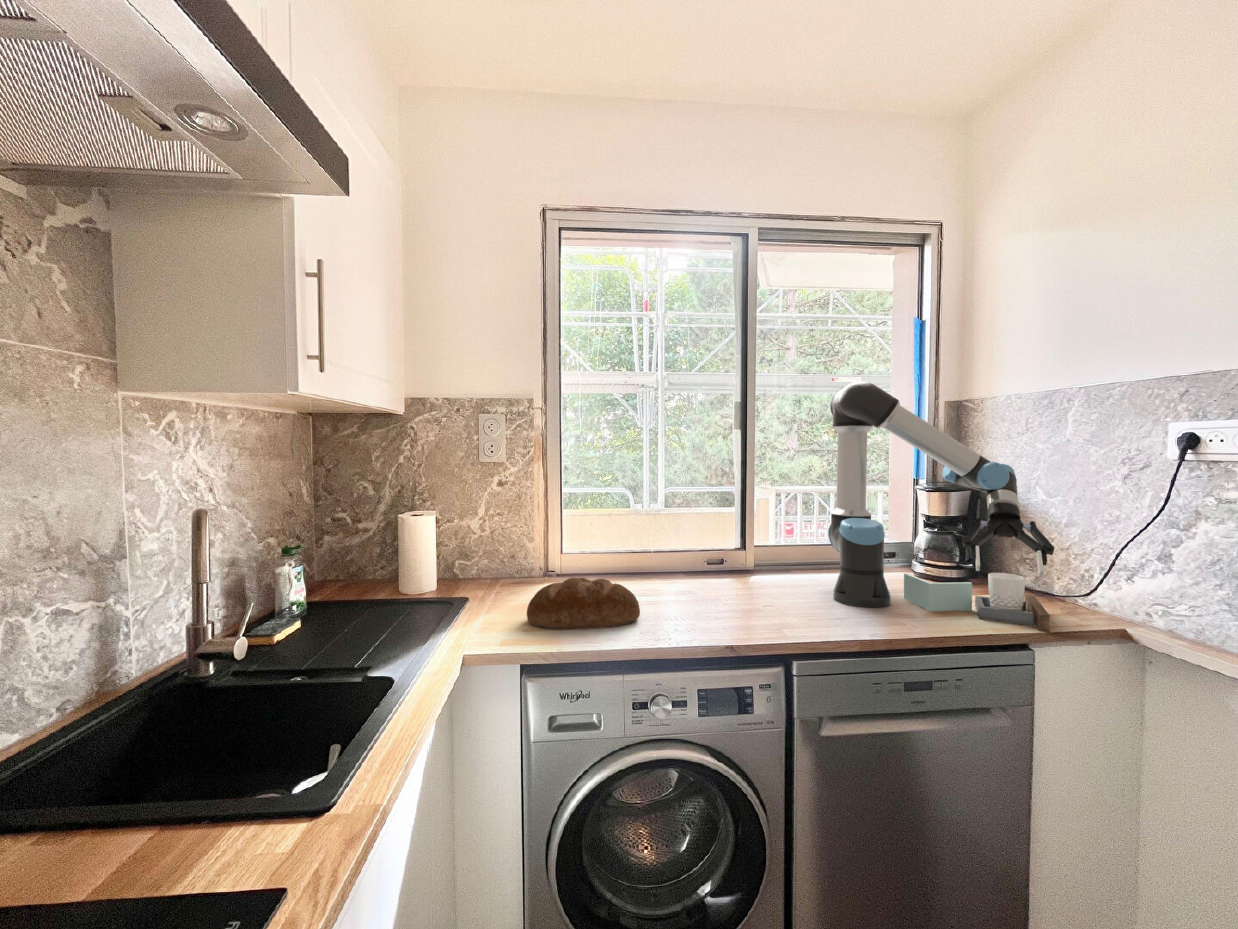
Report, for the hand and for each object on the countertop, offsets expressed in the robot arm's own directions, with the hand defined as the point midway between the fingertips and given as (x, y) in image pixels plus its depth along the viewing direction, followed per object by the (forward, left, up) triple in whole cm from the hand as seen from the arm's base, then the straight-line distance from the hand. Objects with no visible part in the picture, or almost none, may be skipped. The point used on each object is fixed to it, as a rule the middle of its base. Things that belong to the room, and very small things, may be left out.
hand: (1008, 571), depth 140 cm
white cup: (-1, -2, -11) cm, 11 cm away
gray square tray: (-1, -2, -11) cm, 12 cm away
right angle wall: (-16, +1, -12) cm, 20 cm away
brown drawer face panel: (+6, -2, -12) cm, 13 cm away
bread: (-96, -59, -12) cm, 114 cm away
